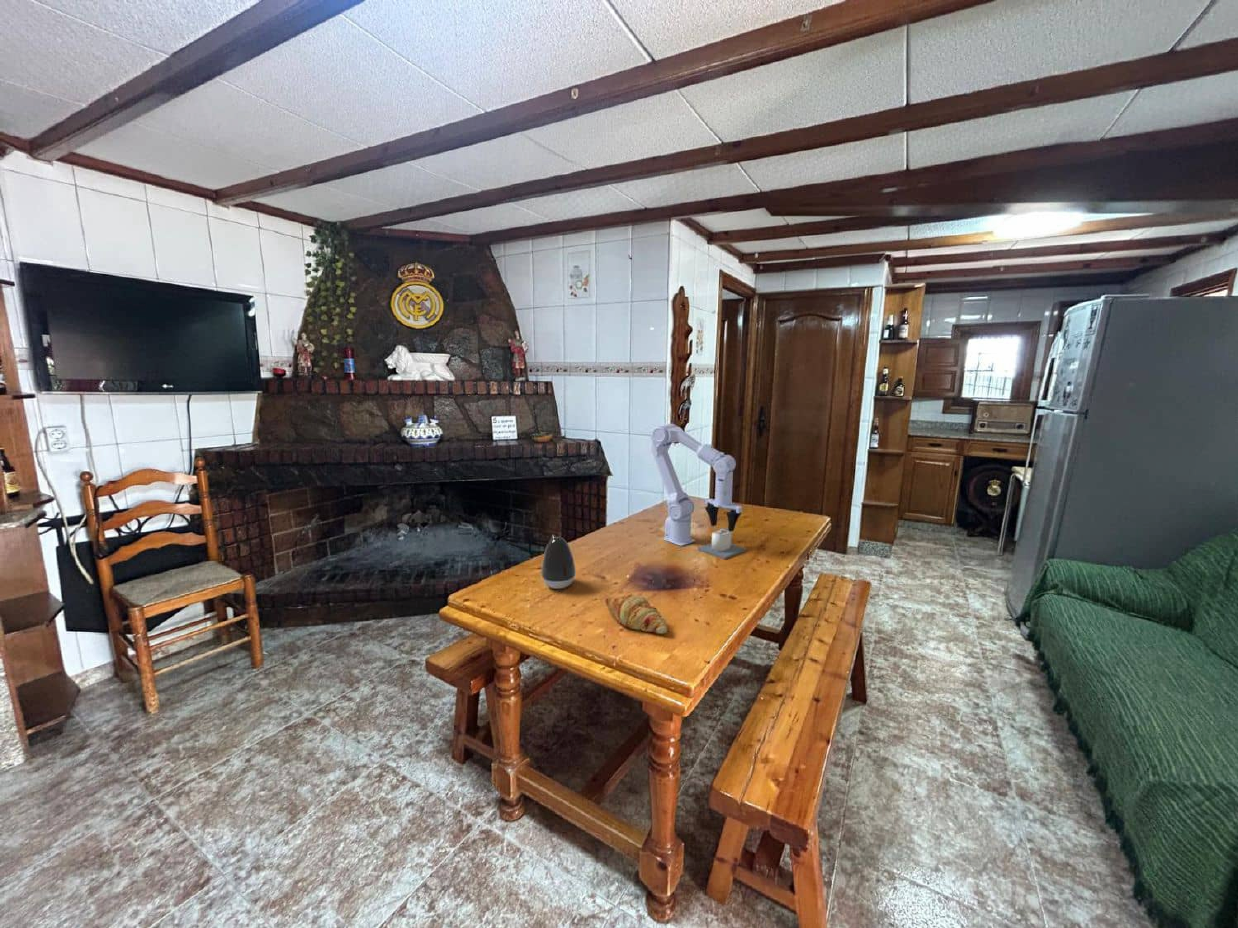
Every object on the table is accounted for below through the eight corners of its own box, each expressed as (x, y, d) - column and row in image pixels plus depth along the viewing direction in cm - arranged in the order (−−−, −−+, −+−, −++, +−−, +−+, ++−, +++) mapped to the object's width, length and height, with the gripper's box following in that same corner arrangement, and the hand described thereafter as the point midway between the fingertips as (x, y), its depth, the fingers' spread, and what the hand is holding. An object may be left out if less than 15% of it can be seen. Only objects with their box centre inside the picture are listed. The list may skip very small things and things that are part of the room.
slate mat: (697, 549, 178) (697, 547, 178) (719, 541, 186) (719, 539, 186) (724, 559, 169) (724, 557, 169) (746, 550, 177) (746, 548, 177)
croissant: (673, 644, 125) (683, 613, 126) (650, 641, 118) (661, 608, 119) (613, 614, 140) (622, 586, 141) (589, 610, 132) (599, 581, 133)
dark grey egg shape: (570, 575, 158) (569, 529, 155) (580, 589, 148) (578, 540, 145) (538, 581, 154) (536, 534, 151) (546, 595, 145) (544, 545, 142)
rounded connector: (709, 549, 176) (709, 530, 174) (724, 544, 181) (725, 525, 180) (717, 552, 173) (718, 533, 172) (732, 546, 179) (733, 528, 177)
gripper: (699, 488, 176) (699, 525, 179) (733, 496, 165) (732, 535, 168) (712, 485, 180) (711, 521, 183) (746, 493, 170) (744, 531, 172)
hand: (722, 528), depth 176 cm, fingers open, 7 cm apart
